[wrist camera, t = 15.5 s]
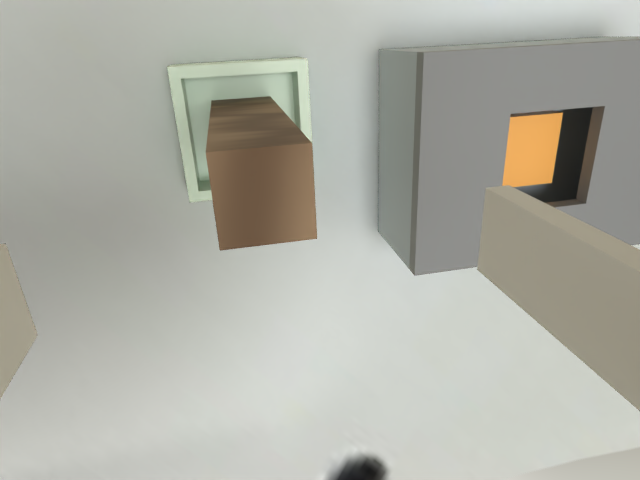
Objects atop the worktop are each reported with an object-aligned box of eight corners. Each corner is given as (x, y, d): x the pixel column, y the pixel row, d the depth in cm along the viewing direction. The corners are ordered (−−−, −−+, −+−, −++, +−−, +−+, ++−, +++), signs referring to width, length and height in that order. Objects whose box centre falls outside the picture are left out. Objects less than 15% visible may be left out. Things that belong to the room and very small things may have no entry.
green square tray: (191, 189, 34) (189, 202, 32) (171, 64, 31) (166, 67, 28) (307, 177, 36) (314, 189, 33) (300, 57, 32) (307, 59, 29)
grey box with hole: (378, 231, 39) (414, 275, 32) (379, 49, 33) (424, 52, 26) (571, 207, 42) (645, 243, 34) (603, 36, 36) (699, 36, 29)
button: (474, 182, 35) (488, 189, 33) (481, 113, 33) (496, 118, 31) (534, 175, 36) (551, 182, 34) (544, 108, 34) (563, 112, 32)
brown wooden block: (219, 158, 33) (219, 250, 19) (211, 100, 32) (205, 152, 17) (275, 153, 34) (317, 238, 19) (270, 96, 32) (311, 143, 18)
